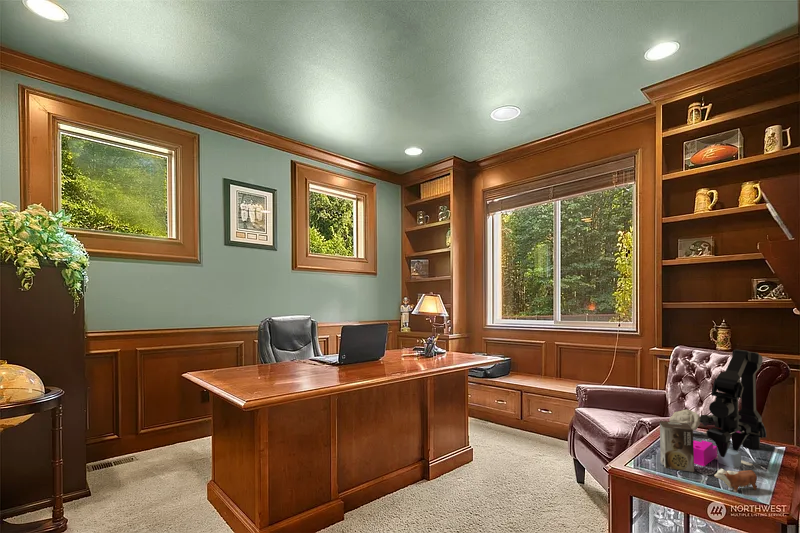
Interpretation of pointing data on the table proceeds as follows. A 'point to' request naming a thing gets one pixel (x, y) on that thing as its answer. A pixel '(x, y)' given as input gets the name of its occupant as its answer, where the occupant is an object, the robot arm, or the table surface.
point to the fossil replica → (686, 418)
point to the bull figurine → (737, 478)
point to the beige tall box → (676, 446)
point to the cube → (730, 458)
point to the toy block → (704, 452)
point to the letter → (741, 462)
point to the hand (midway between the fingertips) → (729, 454)
